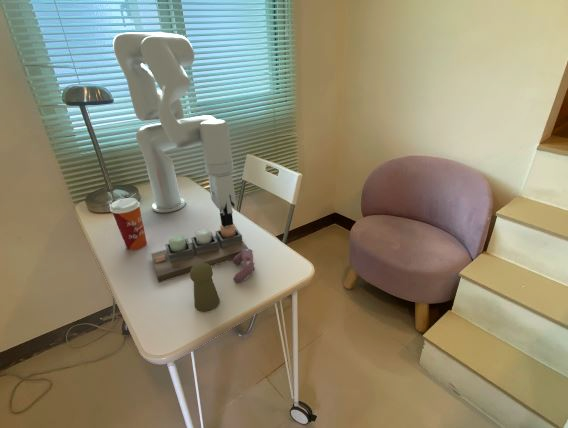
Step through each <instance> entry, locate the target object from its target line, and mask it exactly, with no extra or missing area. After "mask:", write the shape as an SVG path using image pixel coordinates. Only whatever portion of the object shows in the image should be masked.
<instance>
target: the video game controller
mask: <svg viewBox="0 0 568 428" xmlns="http://www.w3.org/2000/svg"><path fill="white" fill-rule="evenodd" d="M232 263H233V264H234V265H236V264H237V265H238V264H241V263H242V269H240V271H239V272H237V274H235V275H234V277H233V282H234V283H235V284H236V283H242V282H244V281H245V280H247V278H249V276H251V275H252V274H253V272H255V271H256V267H255V263H254V253H253V250H252V249H250V248H248V249H243V250H242V251H241V252H240V253H239V254H238V255H236V256H235V257H234V259H233V260H232Z"/></svg>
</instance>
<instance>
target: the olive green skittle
mask: <svg viewBox="0 0 568 428" xmlns="http://www.w3.org/2000/svg"><path fill="white" fill-rule="evenodd" d="M212 267H213V266H210V265H209V264H207V263H198V264H196V265H194V266H193V267H192V268H191V270H190V273H189V278H190V280H191V281H192V282H193V294H194V295H193V299H194V308H195V310H196V311H198V313H199V312H200V313H210V312H212V311H214V310H216V309H217V308H218V306H220V303H221V301H220V296H219V294H218V291H217V288H216V286H215V283H214V280H213V275H214V269H213V268H212Z"/></svg>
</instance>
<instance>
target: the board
mask: <svg viewBox="0 0 568 428" xmlns="http://www.w3.org/2000/svg"><path fill="white" fill-rule="evenodd" d="M235 232H236V235H235V236H233V237H230V238H223V237H222V236H221V230H220V229H219V230H215V231H214V233H215V235H214V234H213V232H211V237H212V242H211V243H209V244H205V245H198V244H197V241H196V236H193V237H191V238H190V239H191V242H190V241H189V240H188V238H185V241H186V246H187V248H186V249H185V250H184V251H180V252H177V253H174V252H172V251H171V248H170V244H169V243H167V244H165V249H163V250H160V251H156V252H152V253H151V254H150V255H151V259H152V262H153V267H154V271H155V274H156V280H157V282H158V284H159V283H162V282H164V281H167V280H171V279H174V278H177V277H180V276H184V275H188V274H190V270H191V268H192V267H193V266H194V265H196V264H198V263H207V264H209V265H210V266H211V267H213V266H217V265H219V264H223V263H226V262H229V261H233V259H234V257H235V256H236V255H238V254H239V253H240V252H241V251H242V250H243V249H249V247H248V245H247V244H246V243H245V242H244V240H243V236H242V234H241V232H240V231H239V230H238V229H237V227H236V226H235Z"/></svg>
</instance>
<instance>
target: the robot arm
mask: <svg viewBox="0 0 568 428" xmlns="http://www.w3.org/2000/svg"><path fill="white" fill-rule="evenodd" d="M112 42H113V43H112V47H113V53H114V57H115V59H116V63H117V64H118V66H119V68H120V69H121V71H122V73H123V75H124V77H125V79H126V82H127V87H128V91H129V95H130V99H131V102H132V107H133V111H134V115H135V116H136V118H137V119H138V120H139V121H141V122H154V121H155V122H156V121H159V122H160V123H159V122H158V123H153V124H147V125H145V126H141V127H140V128H139V129H138V130H137V131H136V133H135V134H136V135H135V139H136V143H137V144H138V147H139V149H140V152H141V154H142V156H143V160H144V162H145V166H146V170H147V171H146V172H147V175H148V178H149V182H150V186H151V190H152V195H153V199H154V202H153V203H152V205H151V209H152V210H153V212H156V213H172V212H175V211H179V210H180V209H183V208H184V207H185V205H186V199H185V198H183V197H181V193H180V190H179V185H178V180H177V176H176V169H175V164H174V161H173V160H172V158H171V157H170V156H169V155H167V154H166V153H165V151H168V150H173V149H176V148H177V149H183V150H184V149H190V148H193V147H196V146H201V149H202V154H203V160H204V167H205V172H206V175H208V183H209V192H210V193H209V194H210V199H211V201H212V203H213V205H215V207H216V208H217V209H218V210H219V217H220V223H221V224H220V225H223V227H226V226H230V225H233V224H234V219H233V213H234V210H233V208H235V207H236V204H237V203H236V202H237V201H236V193H235V187H234V186H235V185H234V182H233V181H234V180H233V176H232V173H234V171H235V170H234V169H235V168H234V162H233V161H234V160H233V153H232V143H231V136H230V128H229V124H228V122H227V121H226V120H223V119H218V118H216V117H214V116H213V115H209V114H208V115H207V114H204V115H199V116H198V115H197V116H192V117H187V118H185V115H184V108H183V105H182V102H181V97H183V96H184V95H185V94H186V93H187V92H188V91H189V90H190V88H191V80H190V77H189V76H188V75H187V73H186V70H185V69H184V68H185V67H186V68H187V67H190V66H192V64H194V61H195V50H194V48H193V45H192V44H191V42H190V41H189V40H188V38H186V36H183V35H181V34H175V33H170V32H169V33H168V32H140V31H139V32H124V33H120V34H117V35H116V36H115V37H114V38H113V41H112ZM145 64H146V65H147V66H146V65H145ZM156 84H157V85H156ZM157 86H158V88H159V90H158V89H157ZM232 207H233V208H232Z"/></svg>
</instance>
